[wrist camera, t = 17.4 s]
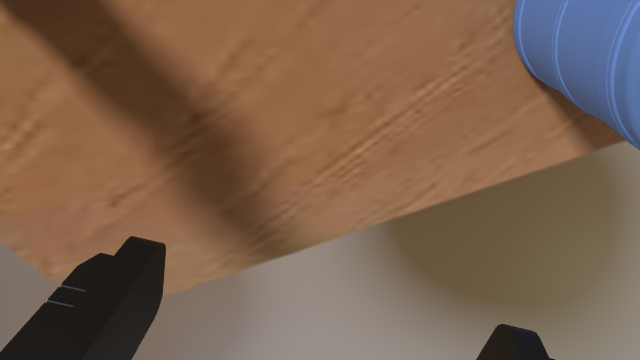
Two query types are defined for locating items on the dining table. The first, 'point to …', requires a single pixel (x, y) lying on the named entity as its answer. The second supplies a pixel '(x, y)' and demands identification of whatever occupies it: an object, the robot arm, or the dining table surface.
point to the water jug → (586, 55)
